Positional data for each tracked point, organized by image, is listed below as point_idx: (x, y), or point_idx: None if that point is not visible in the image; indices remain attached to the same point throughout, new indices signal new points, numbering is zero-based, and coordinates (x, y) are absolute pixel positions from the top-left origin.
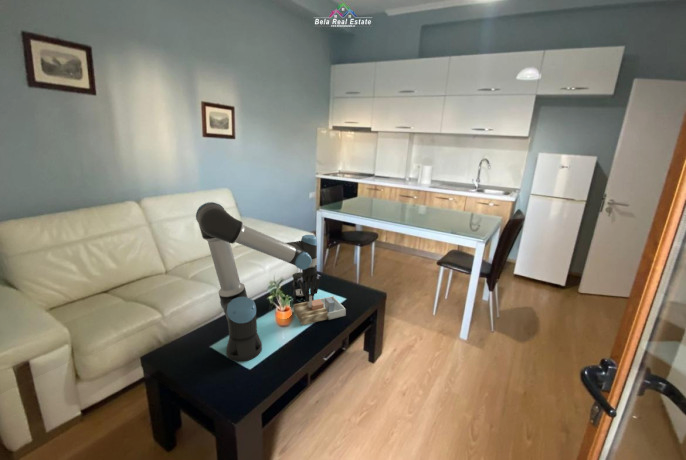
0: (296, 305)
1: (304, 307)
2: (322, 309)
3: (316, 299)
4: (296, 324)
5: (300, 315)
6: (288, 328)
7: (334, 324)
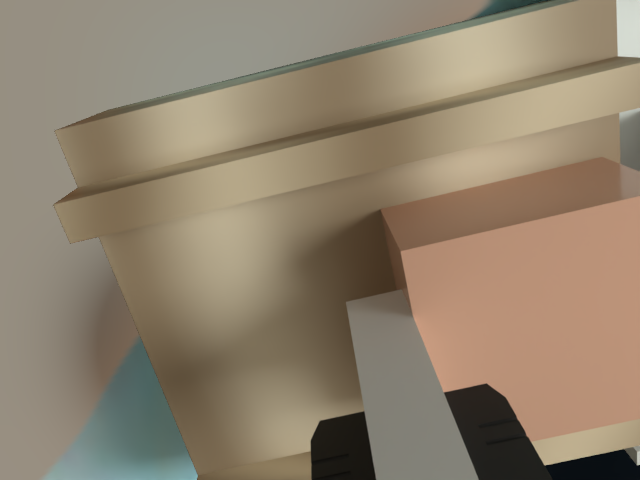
0: (111, 228)
1: (283, 245)
2: (577, 456)
3: (598, 206)
4: (161, 418)
5: (196, 465)
6: (66, 475)
7: (604, 477)
